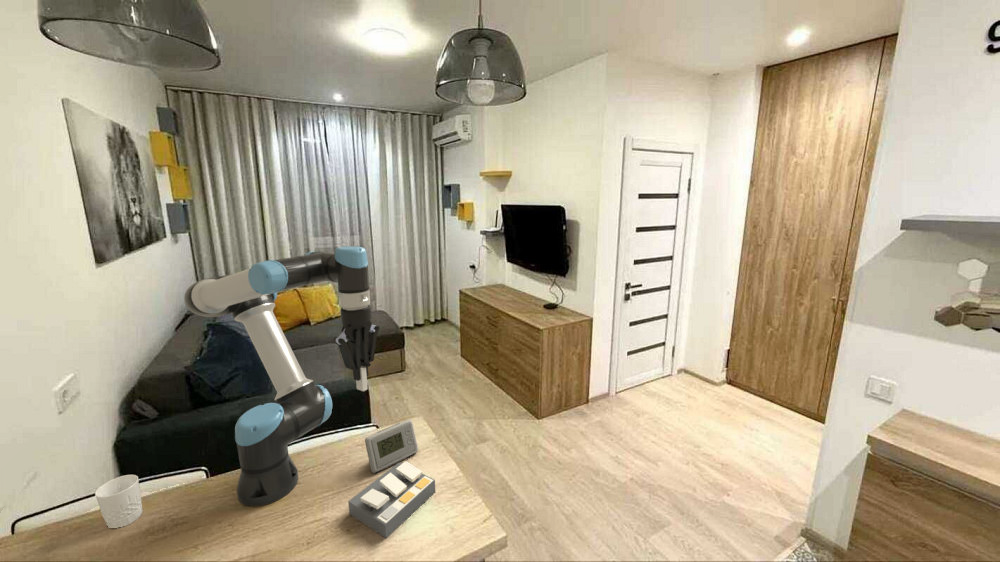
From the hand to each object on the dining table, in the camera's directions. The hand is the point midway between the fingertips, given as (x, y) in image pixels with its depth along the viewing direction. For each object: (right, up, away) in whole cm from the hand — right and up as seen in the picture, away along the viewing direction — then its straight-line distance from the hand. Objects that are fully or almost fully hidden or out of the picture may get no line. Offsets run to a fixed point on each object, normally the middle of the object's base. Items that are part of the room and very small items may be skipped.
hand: (362, 389), depth 106 cm
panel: (+9, -31, 0) cm, 32 cm away
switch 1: (+6, -27, -6) cm, 28 cm away
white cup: (-60, -32, -5) cm, 68 cm away
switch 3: (+12, -25, +4) cm, 28 cm away
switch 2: (+9, -26, -1) cm, 28 cm away
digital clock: (+4, -28, +17) cm, 33 cm away
